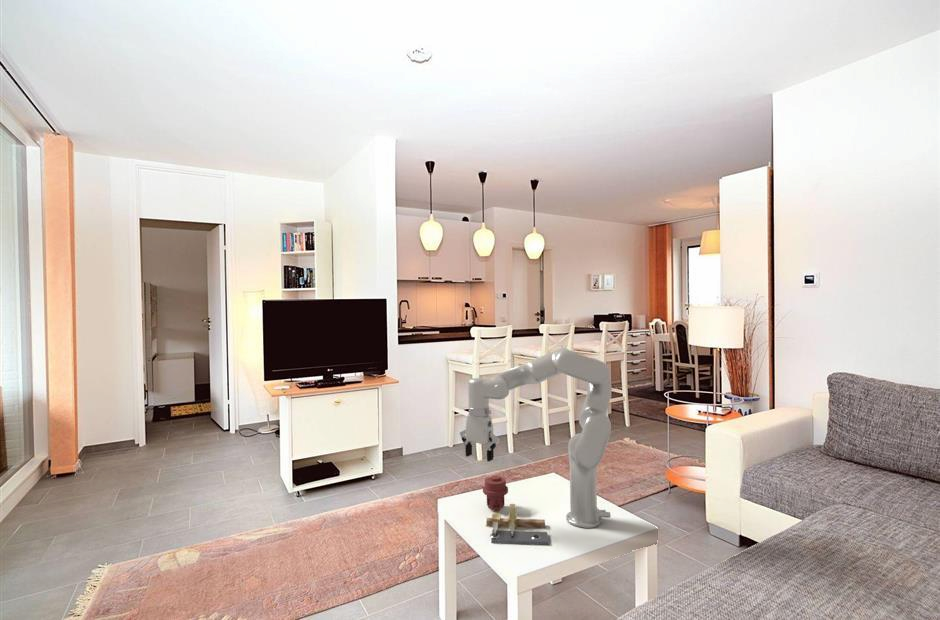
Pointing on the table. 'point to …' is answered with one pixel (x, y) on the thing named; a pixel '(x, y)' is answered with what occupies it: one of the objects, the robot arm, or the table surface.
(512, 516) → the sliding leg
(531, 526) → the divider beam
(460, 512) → the table surface
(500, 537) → the hole plate
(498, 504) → the mechanical component
